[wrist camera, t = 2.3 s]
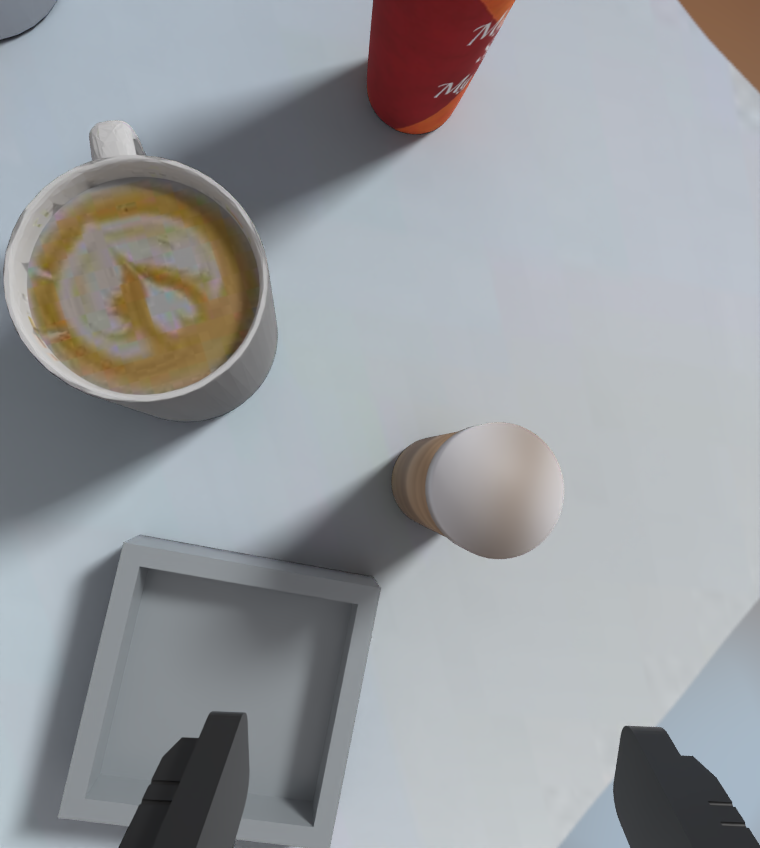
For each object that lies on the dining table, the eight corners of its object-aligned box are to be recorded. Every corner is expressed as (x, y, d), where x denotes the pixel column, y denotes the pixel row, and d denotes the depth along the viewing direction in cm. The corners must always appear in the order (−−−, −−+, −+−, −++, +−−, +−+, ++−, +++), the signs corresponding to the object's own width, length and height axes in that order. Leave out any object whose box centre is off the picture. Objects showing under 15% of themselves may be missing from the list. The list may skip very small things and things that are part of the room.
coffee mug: (284, 415, 33) (278, 394, 23) (99, 428, 32) (8, 412, 22) (266, 185, 34) (253, 71, 24) (85, 188, 32) (-9, 67, 22)
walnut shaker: (381, 518, 33) (421, 545, 22) (399, 427, 34) (447, 409, 23) (470, 536, 34) (552, 570, 23) (487, 445, 35) (574, 437, 24)
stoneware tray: (81, 783, 30) (57, 818, 27) (139, 534, 31) (123, 542, 28) (326, 814, 32) (329, 850, 29) (373, 577, 33) (380, 588, 30)
